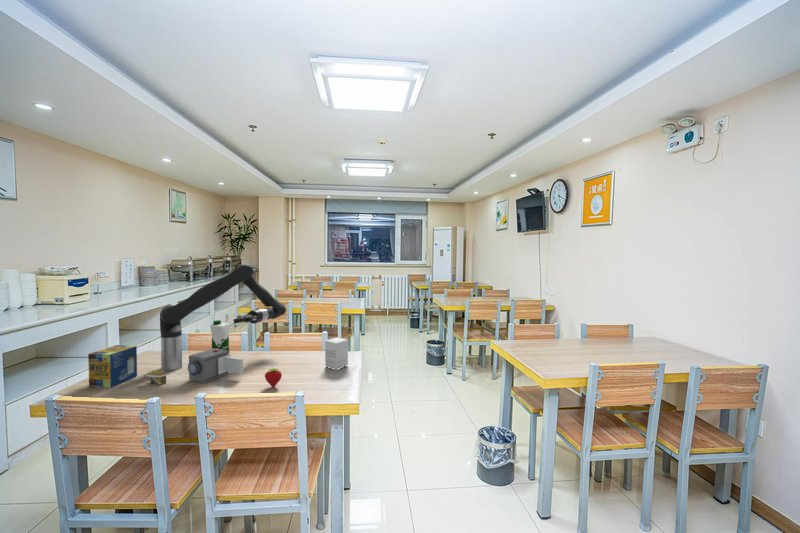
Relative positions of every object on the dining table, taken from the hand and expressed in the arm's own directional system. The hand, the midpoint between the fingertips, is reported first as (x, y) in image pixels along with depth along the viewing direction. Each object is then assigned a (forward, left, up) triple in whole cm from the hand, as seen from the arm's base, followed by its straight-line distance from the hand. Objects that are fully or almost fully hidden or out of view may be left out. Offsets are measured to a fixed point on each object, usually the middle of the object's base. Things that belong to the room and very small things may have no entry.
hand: (234, 321), depth 185 cm
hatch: (-4, -16, -23) cm, 28 cm away
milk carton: (-3, +32, -25) cm, 40 cm away
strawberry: (+10, -38, -25) cm, 47 cm away
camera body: (-14, -9, -25) cm, 30 cm away
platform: (-34, -5, -26) cm, 43 cm away
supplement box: (+46, -28, -25) cm, 60 cm away
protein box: (-51, +9, -25) cm, 58 cm away
